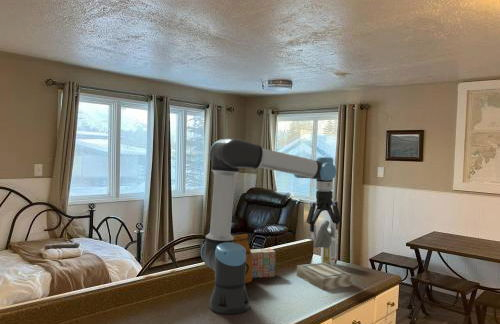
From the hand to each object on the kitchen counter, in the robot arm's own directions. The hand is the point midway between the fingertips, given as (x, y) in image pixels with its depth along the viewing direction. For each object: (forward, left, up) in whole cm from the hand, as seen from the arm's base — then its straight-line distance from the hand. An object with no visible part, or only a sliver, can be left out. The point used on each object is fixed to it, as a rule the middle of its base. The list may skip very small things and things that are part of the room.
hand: (323, 237), depth 187 cm
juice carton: (+20, +23, -21) cm, 37 cm away
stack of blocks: (-27, +19, -21) cm, 39 cm away
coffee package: (-38, +12, -21) cm, 45 cm away
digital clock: (-1, 0, -4) cm, 4 cm away
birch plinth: (+1, +1, -20) cm, 20 cm away
